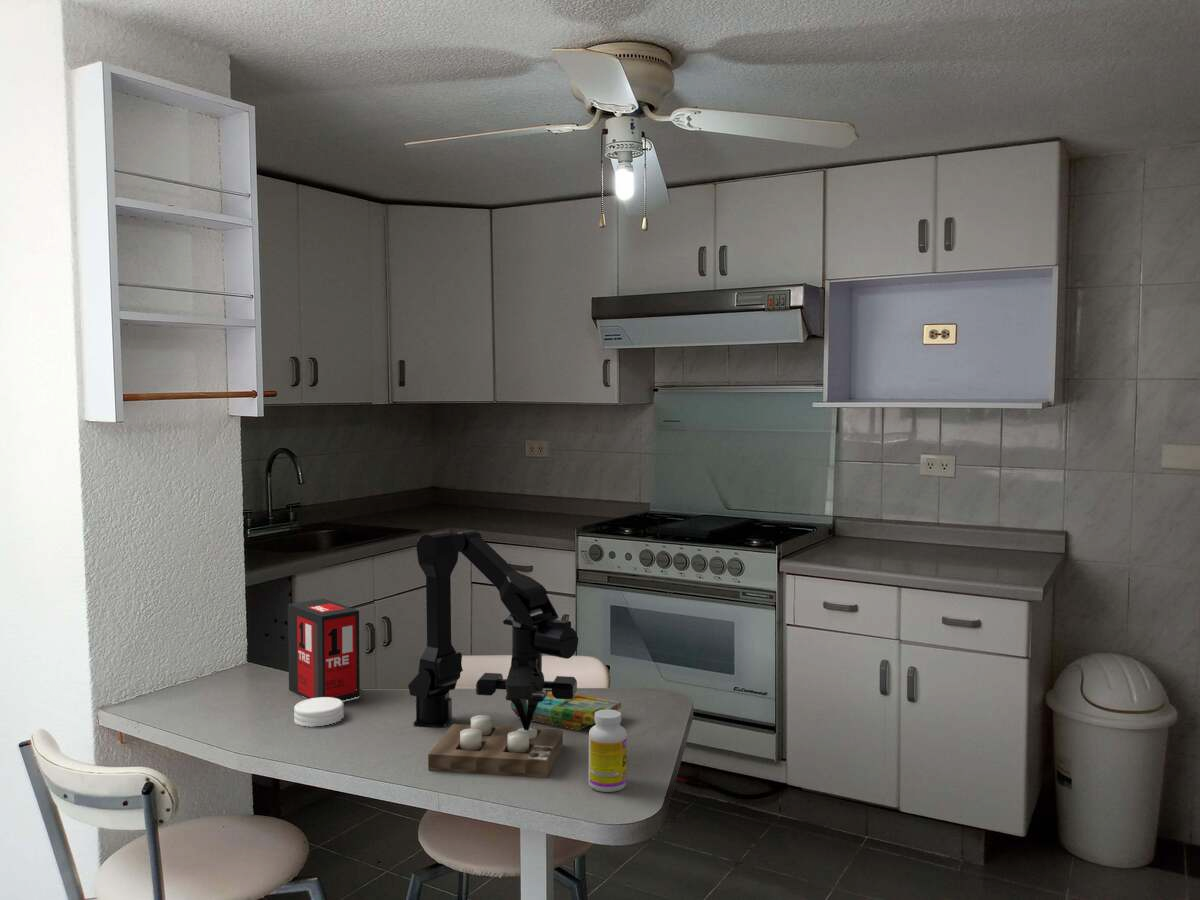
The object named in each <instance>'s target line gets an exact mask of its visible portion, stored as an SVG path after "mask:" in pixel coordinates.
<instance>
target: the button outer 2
mask: <svg viewBox="0 0 1200 900" xmlns="http://www.w3.org/2000/svg"><path fill="white" fill-rule="evenodd" d="M507 750H508V751H509V752H512V753H524V752H527V751H528V750H529V733H528V732H525V731H513V732H510V733H508V739H507Z"/></svg>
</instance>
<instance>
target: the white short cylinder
mask: <svg viewBox="0 0 1200 900" xmlns="http://www.w3.org/2000/svg"><path fill="white" fill-rule="evenodd" d="M344 706H345V705H344V702H342V701H341V700H340V699H337V698H331V697H319V698H311V699H304V700H301V701H298V702H297V703H296V704H295V706H294V708H293V711H294V713H293V715H294V719H293V720H294V723H295V724H296V725H297V726H299V725H300V727H303V726H306V727H305V728H316V727H315V726H323V727H325V726H324V725H329V724H332V725H334V724H333V723H335V724H337V723H336V722H338V721H340V720H341V719H342V718H343V719H344V717H345V714H344V710H345V709H344ZM343 719H342V720H343ZM342 720H341V721H342ZM341 721H340V722H341ZM338 723H339V722H338ZM308 726H309V727H308ZM313 726H314V727H313ZM329 726H330V725H329Z"/></svg>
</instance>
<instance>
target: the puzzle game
mask: <svg viewBox="0 0 1200 900" xmlns="http://www.w3.org/2000/svg"><path fill="white" fill-rule="evenodd" d="M510 708H511V711H513V713H514V714H515V715H516V717H518V718H519V714H518V711H517V709H516V707H515V705H514V704H513V703H512V702H511V701H510ZM604 709H610V710H616V711H618V710H620V709H622V702H621V701H615V700H611V699H605V698H602V697H601V698H600V697H595V696H591V695H585V694H579V693H577V692H576V693H575V695H574V697H573V699H556V698H555V697H554V696H553V695H552V692H548V694H547V696H546V697H545V699H544V701H542V702H539V703H538V705H537V707H536V710H535V713H534V716H533V719H532V720H535V721H534V722H536V721H539V722H538V723H541V722H544V723H543V724H546V723H549V724H548V725H550V724H553V725H552V726H555V725H557V726H556V727H560V726H562V727H561V728H565V727H568V728H567V729H570V728H573V729H572V730H574V729H578V730H577V731H579V730H580V729H581V730H583V729H584V727H585V726H586V727H588V726H593V725H594V724H596V723H595V720H594V718H595V712H596V711H599V710H604ZM527 710H528V700H527ZM587 725H588V726H587ZM586 727H585V728H586ZM582 728H583V729H582ZM581 730H580V731H581Z"/></svg>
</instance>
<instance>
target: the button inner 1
mask: <svg viewBox="0 0 1200 900" xmlns="http://www.w3.org/2000/svg"><path fill="white" fill-rule="evenodd" d="M492 719H493V718H492V717H491V716H490V715H485V714H479V715H474V716H472V717H471V718H470V725H471V728H474V729H479V730H481V731H482V736H486V735H489V734H491V732H492V726H493V725H492V724H493V722H492V721H493V720H492Z"/></svg>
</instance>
